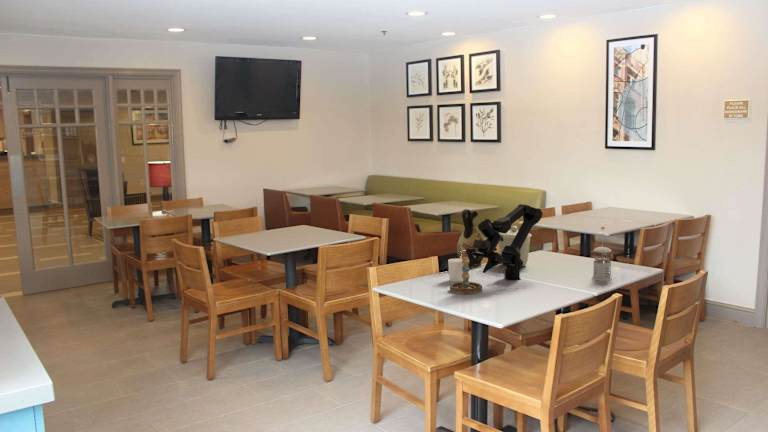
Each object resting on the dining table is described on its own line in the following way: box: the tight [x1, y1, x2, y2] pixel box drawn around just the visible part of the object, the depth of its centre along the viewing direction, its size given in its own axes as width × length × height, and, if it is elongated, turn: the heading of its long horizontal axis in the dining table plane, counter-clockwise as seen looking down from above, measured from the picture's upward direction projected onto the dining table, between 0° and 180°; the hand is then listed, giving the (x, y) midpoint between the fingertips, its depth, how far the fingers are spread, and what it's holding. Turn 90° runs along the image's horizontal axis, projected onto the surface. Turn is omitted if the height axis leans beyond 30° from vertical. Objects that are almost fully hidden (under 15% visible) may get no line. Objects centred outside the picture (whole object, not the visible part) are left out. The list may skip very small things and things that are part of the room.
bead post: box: [461, 257, 471, 289], centre depth 299 cm, size 4×4×14 cm
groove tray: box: [449, 281, 483, 295], centre depth 300 cm, size 14×14×2 cm
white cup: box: [447, 257, 463, 283], centre depth 320 cm, size 8×8×10 cm
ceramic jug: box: [456, 208, 485, 266], centre depth 355 cm, size 17×15×30 cm
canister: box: [498, 225, 533, 267], centre depth 350 cm, size 18×18×21 cm
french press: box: [591, 226, 614, 282], centre depth 317 cm, size 10×12×25 cm
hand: (475, 270), depth 304 cm, fingers open, 9 cm apart
